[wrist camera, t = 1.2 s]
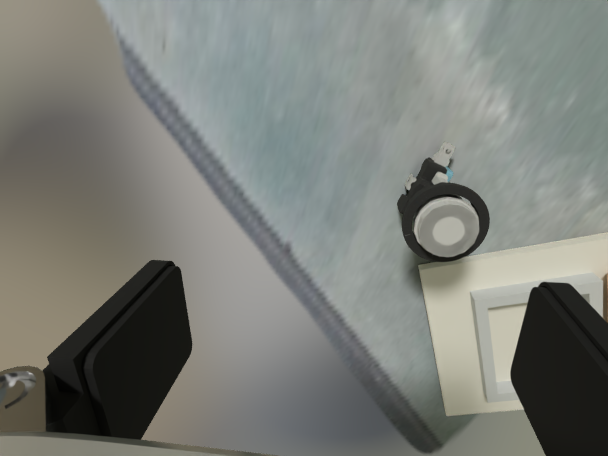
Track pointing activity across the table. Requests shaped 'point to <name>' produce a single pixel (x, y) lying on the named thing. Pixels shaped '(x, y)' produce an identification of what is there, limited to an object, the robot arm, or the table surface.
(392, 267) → the table surface
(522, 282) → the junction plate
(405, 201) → the push button
